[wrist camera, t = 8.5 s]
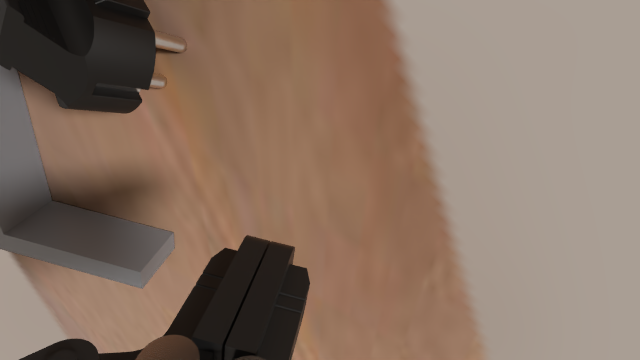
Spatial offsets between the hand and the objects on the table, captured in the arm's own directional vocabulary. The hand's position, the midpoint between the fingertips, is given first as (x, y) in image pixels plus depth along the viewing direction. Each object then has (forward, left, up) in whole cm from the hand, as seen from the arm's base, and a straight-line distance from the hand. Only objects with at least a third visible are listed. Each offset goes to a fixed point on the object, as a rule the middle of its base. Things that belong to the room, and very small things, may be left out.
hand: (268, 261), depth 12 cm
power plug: (-4, -14, -11) cm, 18 cm away
